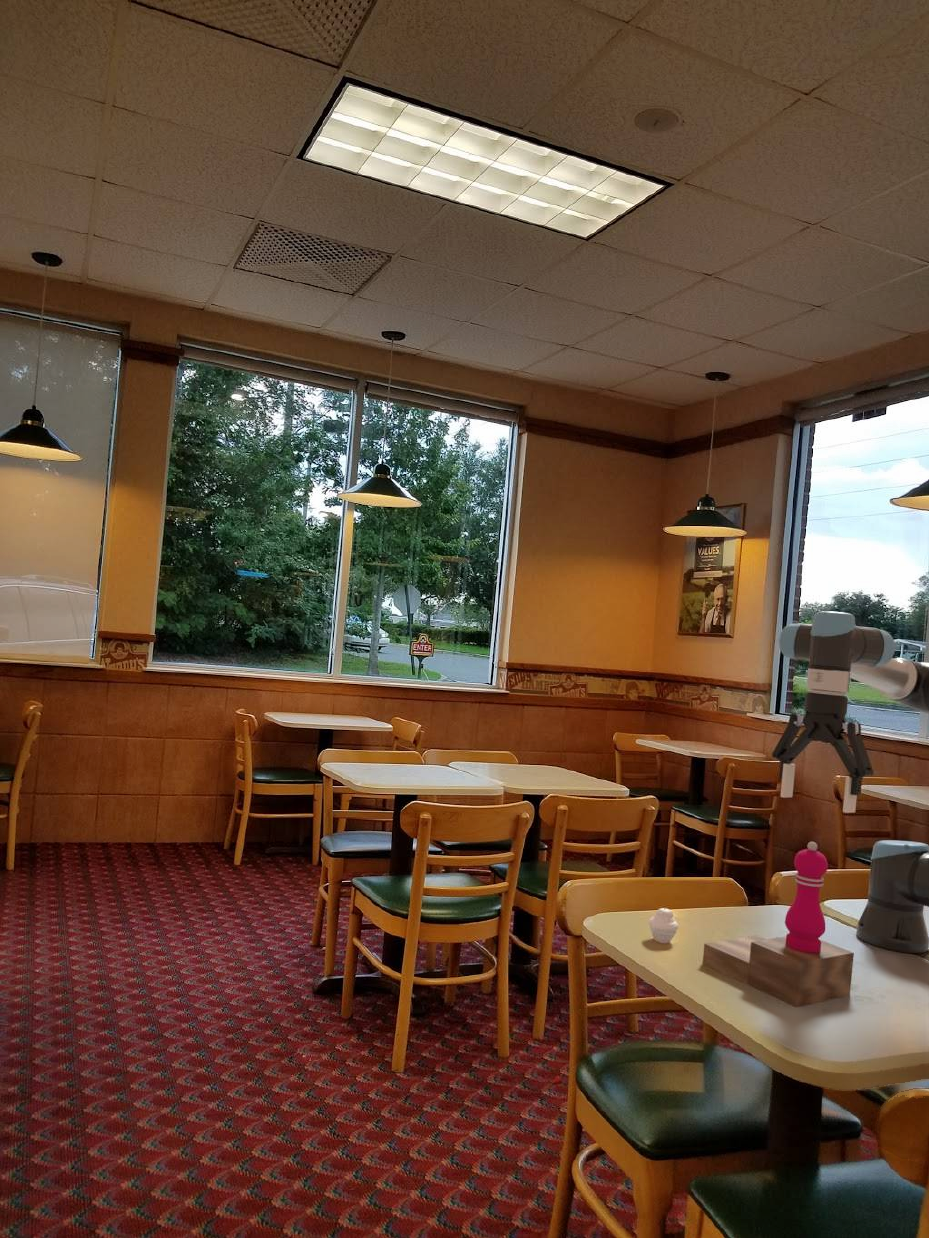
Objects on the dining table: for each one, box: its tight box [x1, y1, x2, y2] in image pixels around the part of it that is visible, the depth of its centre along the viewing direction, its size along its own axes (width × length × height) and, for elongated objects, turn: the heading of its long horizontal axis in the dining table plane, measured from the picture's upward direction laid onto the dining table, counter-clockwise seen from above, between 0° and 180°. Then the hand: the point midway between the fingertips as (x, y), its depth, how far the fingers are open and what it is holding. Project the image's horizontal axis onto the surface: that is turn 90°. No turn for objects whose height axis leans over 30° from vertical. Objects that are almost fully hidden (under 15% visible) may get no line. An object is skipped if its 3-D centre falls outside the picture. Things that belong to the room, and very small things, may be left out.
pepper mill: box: [784, 841, 829, 953], centre depth 174 cm, size 7×7×20 cm
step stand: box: [702, 935, 855, 1008], centre depth 178 cm, size 16×22×8 cm
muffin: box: [648, 907, 679, 944], centre depth 195 cm, size 6×6×7 cm
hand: (816, 804), depth 174 cm, fingers open, 13 cm apart
